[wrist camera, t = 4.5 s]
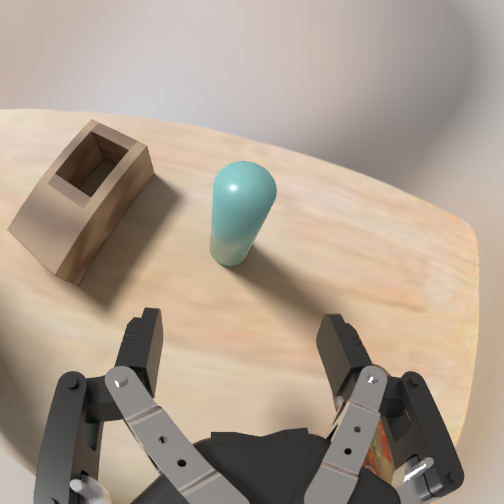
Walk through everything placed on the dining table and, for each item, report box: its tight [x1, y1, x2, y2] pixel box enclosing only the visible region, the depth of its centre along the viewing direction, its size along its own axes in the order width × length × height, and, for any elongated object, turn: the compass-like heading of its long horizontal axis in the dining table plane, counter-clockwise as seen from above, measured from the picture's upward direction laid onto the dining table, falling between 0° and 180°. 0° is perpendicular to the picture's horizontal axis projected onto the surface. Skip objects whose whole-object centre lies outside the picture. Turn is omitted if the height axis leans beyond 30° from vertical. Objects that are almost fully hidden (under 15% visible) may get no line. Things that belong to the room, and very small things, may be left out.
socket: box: [7, 119, 154, 285], centre depth 24 cm, size 14×8×5 cm, turn 151°
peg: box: [210, 161, 277, 267], centre depth 22 cm, size 4×4×12 cm
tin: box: [333, 364, 396, 485], centre depth 20 cm, size 15×3×8 cm, turn 15°
